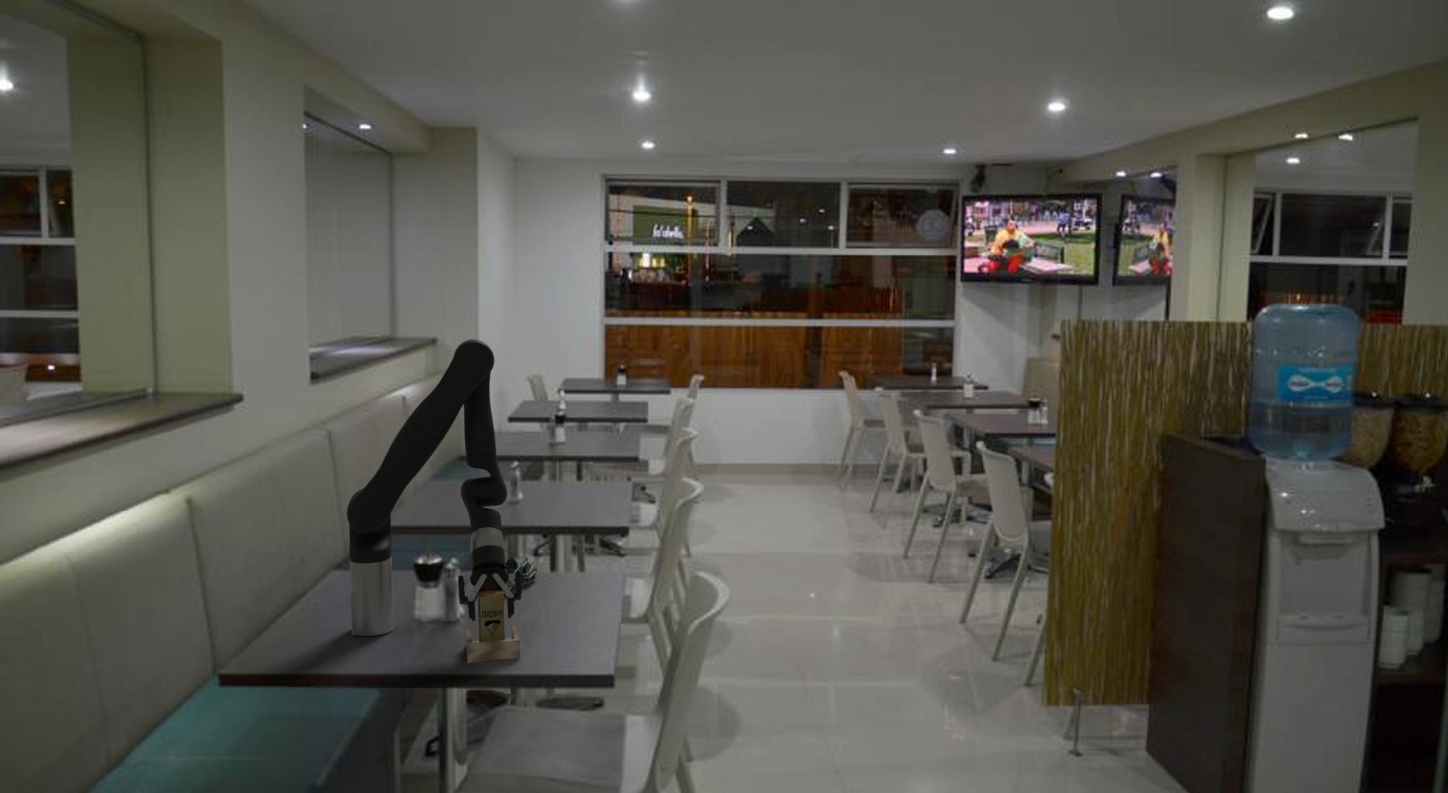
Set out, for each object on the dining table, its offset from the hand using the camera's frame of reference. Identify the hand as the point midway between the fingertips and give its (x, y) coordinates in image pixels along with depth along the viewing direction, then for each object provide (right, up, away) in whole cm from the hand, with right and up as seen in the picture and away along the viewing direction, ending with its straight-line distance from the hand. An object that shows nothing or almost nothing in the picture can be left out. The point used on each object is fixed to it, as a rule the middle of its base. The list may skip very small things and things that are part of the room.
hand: (492, 617), depth 231 cm
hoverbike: (-6, -3, +49) cm, 50 cm away
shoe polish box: (-1, -7, +2) cm, 7 cm away
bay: (0, -8, +2) cm, 8 cm away
